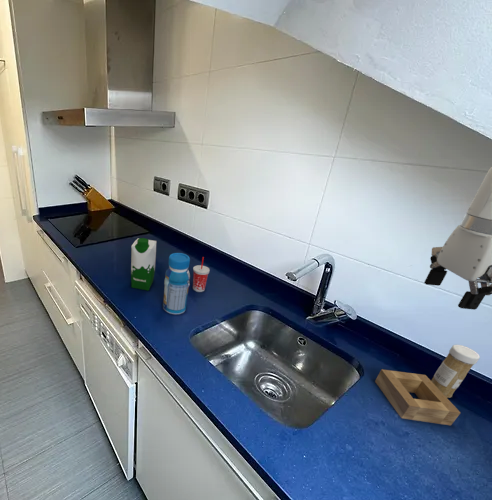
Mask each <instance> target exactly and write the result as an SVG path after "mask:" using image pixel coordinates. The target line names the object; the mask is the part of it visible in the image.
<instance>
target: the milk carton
mask: <svg viewBox="0 0 492 500" xmlns="http://www.w3.org/2000/svg"><path fill="white" fill-rule="evenodd" d="M130 249H131V253H130V255H131V256H130V257H131V258H130V259H131V260H130V262H131V263H130V287H131V288H133V289H138V290H143V291H150V289H151V287H152V285H153V283H154V280H155V279H154V278H155V273H156V259H157V240H152V239H148V238H144V237H140V238H138V237H137V239H135V240H134V242H133V243H132V244H131V248H130Z"/></svg>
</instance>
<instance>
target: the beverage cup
mask: <svg viewBox="0 0 492 500" xmlns="http://www.w3.org/2000/svg"><path fill="white" fill-rule="evenodd" d="M204 258H205V257H204V256H202V258H201V264H198V265H194V266H193V268H192V269H193V270H192V271H193V278H192V290H193V291H195V292H197V293H203V292H205V290H206V286H207V280H208V276H209V274H210V271H211V269H210V267H208V266H206V265H204V260H205V259H204Z"/></svg>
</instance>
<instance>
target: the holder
mask: <svg viewBox="0 0 492 500" xmlns="http://www.w3.org/2000/svg"><path fill="white" fill-rule="evenodd" d="M431 380H432V379H430V378H429V377H428V376H427V375H426V374H421V373H414V372H413V373H412V372H405V371H398V370H390V369H383V368H382V369H380V371H379V372H378V374H377V377H376V379H375V380H374V382H375V384H376V386H378V388H379V389H380V391H381V392H382V394H383V395H384V396H385V397H386V399H387V401H388V402H389V403H390V405H391V406H392V408H393V409H394V410H395V411H396V413H397V414H398V416H399V417H400V418H401V419H404V420H411V421H417V422H422V423H423V422H424V423H430V424H438V425H446V426H452V425H453V424H454V423H455V421H456V420H457V418H458V417H459V416H460V415H461V411H460V410H459V409H458V408H457V407H456V406H455V405H454V404H453V403H452V402H451V400H449V398H446V396H445V395H444V394H443V393H442V392H441V391H440V390H439V389H438V388H437V387H436V386H435V385H434V384H433V383H432V381H431ZM410 393H411V394H415V396H416V397H417V398H413V396H412V395H411V394H410Z"/></svg>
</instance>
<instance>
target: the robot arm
mask: <svg viewBox="0 0 492 500" xmlns="http://www.w3.org/2000/svg"><path fill="white" fill-rule="evenodd" d="M446 239H447V240H446V241H445V243H444V244H443V246H433V247H432V248H431V256H430V258H429V259H430V263H431V264H429V269H430V270H429V272H428V274H427V276H426V278H425V279H424V282H423V283H424V284H425V285H428V286H437V287H438V286H441V285H442V283H443V281H444V280H445V278H446V275H447V274H448V271H449V272H451V273H453V274H454V275H456V276H458V277H460V278H462V279H463V280H465V281H468V286H469V287H468V288H469V290H466V291H465V292H464V293H463V296H462V297H461V299H460V301H459V303H458V304H457V307H458V308H460V309H465V310H475V311H476V310H477V309H478V308H479V306H480V305H481V303H482V301H483V300H484V298H485V297H486V296H491V295H492V166H490V168H489V169H488V171H487V172H486V174H485V176H484V178H483V180H482V182H481V184H480V186H479V188H478V189H477V191H476V193H475V195H474V197H473V199H472V201H471V202H470V205H469V206H468V209H467V210H466V212H465V213H464V216H463V217H462V220H461V222H460V224H458V225H457V226H456V227H455V229H454V230H452V232H451V233H450V235H449V237H448V238H446ZM478 284H480V287H479V285H478Z"/></svg>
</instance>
